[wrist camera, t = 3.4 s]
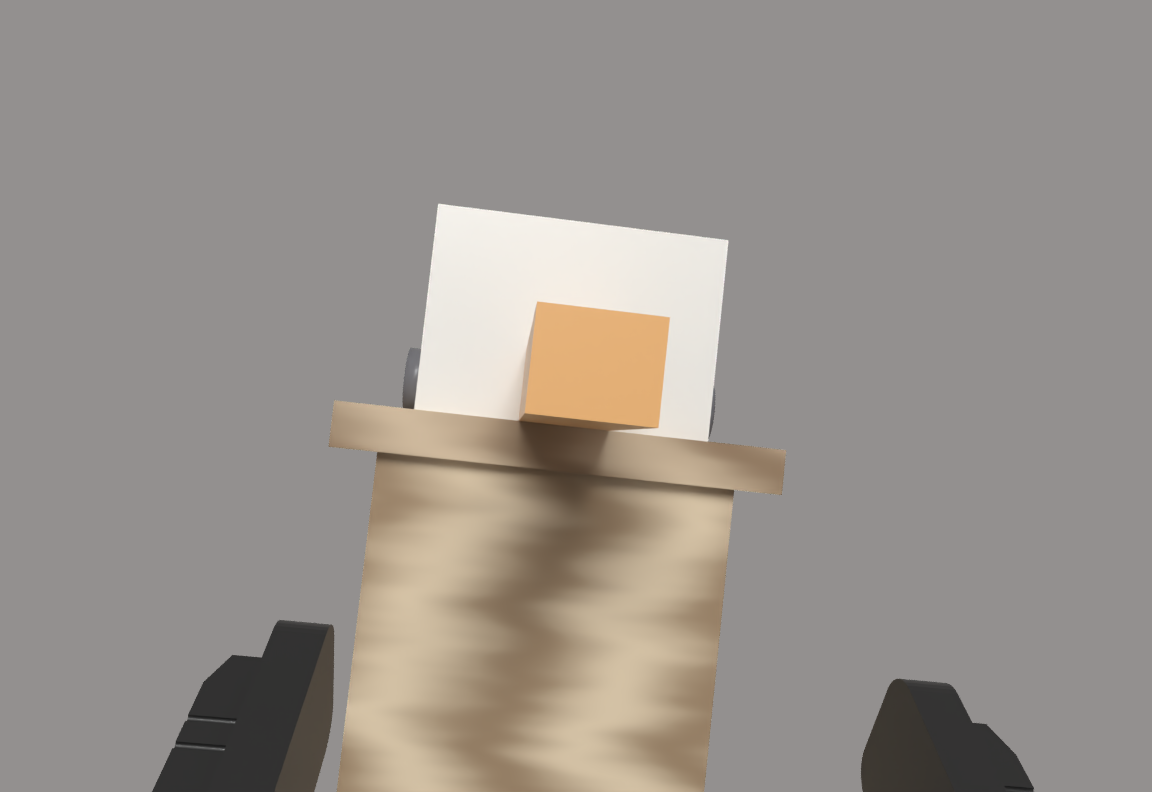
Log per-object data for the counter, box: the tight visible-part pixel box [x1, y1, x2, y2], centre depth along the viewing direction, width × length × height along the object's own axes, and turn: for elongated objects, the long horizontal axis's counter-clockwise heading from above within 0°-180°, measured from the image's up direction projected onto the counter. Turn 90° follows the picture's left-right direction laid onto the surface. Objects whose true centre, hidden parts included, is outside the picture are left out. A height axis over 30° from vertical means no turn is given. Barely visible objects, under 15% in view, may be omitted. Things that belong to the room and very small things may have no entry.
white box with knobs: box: [403, 204, 728, 442], centre depth 29 cm, size 12×16×7 cm
